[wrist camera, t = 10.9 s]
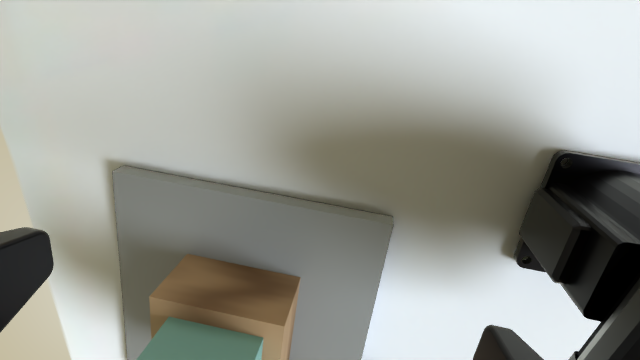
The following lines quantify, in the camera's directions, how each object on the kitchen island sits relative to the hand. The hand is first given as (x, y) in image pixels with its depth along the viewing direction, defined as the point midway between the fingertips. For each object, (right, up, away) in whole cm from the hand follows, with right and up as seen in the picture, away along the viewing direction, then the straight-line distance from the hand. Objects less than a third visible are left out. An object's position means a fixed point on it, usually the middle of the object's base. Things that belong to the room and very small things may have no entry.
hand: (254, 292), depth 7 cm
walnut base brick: (-4, -6, +16) cm, 17 cm away
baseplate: (-4, -6, +17) cm, 18 cm away
